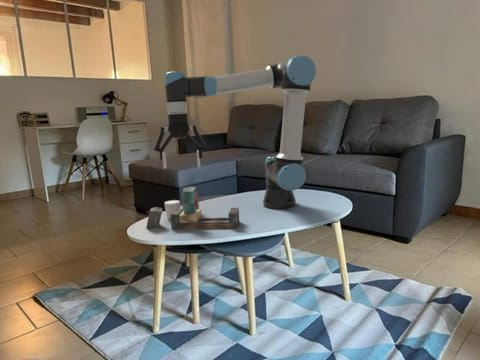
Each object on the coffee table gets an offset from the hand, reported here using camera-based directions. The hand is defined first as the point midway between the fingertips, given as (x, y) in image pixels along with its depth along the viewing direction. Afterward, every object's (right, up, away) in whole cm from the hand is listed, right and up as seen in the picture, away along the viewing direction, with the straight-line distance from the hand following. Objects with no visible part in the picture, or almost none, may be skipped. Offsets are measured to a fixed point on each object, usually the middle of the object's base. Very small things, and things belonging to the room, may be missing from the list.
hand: (182, 167), depth 145 cm
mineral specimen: (-11, -24, +3) cm, 27 cm away
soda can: (+1, -20, +18) cm, 27 cm away
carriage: (+3, -21, +1) cm, 21 cm away
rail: (+9, -23, +1) cm, 25 cm away
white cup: (-6, -21, +15) cm, 27 cm away
